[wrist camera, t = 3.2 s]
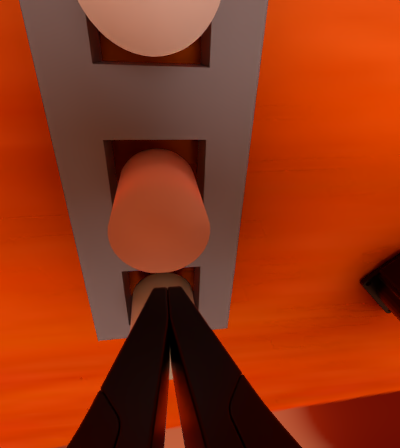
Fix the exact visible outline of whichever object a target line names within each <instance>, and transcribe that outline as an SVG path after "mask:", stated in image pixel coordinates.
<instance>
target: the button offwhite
mask: <svg viewBox="0 0 400 448" xmlns="http://www.w3.org/2000/svg"><path fill="white" fill-rule="evenodd" d="M220 1H221V0H78V2H79V4H80V6H81V7H82V9H83V11H84V12H85V14H86V15H87V17H88V18H89V20H90V21H91V22H92V23H93V24H94V26H95V27H96V28H97V29H98V30H99V31H100V32H101V33H102V34H103V35H104V36H105V37H106V38H108V39H109V40H110V41H112V42H113V43H114V44H116V45H118V46H119V47H121V48H123V49H125V50H127V51H130V52H132V53H135V54H139V55H143V56H151V57H155V56H165V55H170V54H173V53H176V52H179V51H181V50H183V49H185V48H186V47H188V46H189V45H191V44H192V43H193V42H195V41H196V40H197V39H198V38H199V37H200V36H201V35H202V34H203V33H204V31H205V30H206V29H207V27H208V26H209V24H210V23H211V21H212V19H213V18H214V16H215V14H216V11H217V9H218V7H219V4H220Z"/></svg>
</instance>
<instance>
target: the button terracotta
mask: <svg viewBox="0 0 400 448" xmlns="http://www.w3.org/2000/svg"><path fill="white" fill-rule="evenodd" d="M209 236H210V223H209V219H208V216H207V213H206V210H205V207H204V204H203V201H202V198H201V195H200V192H199V189H198V186H197V183H196V180H195V177H194V174H193V171H192V169H191V167H190V165H189V164H188V163H187V161H186V160H185V159H184V158H182V157H181V156H180V155H178V154H177V153H175V152H172V151H170V150H166V149H159V148H154V149H147V150H144V151H141V152H139V153H137V154H135V155H134V156H132V157H131V158H130V159H129V160H128V161H127V162H126V164H125V165H124V167H123V169H122V171H121V174H120V178H119V182H118V187H117V191H116V195H115V199H114V203H113V207H112V211H111V215H110V220H109V224H108V239H109V243H110V245H111V248H112V249H113V251H114V253H115V254H116V255H117V256H118V257H119V258H120V259H121V260H122V261H123V262H124V263H126V264H127V265H129V266H131V267H132V268H135V269H137V270H140V271H144V272H149V273H167V272H172V271H176V270H179V269H181V268H183V267H186V266H187V265H189V264H191V263H192V262H193V261H195V260H196V259H197V258H198V257H199V256H200V255H201V253H202V252H203V251H204V249H205V248H206V245H207V243H208V240H209Z"/></svg>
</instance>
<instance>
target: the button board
mask: <svg viewBox="0 0 400 448" xmlns="http://www.w3.org/2000/svg"><path fill="white" fill-rule="evenodd" d="M19 2H20V6H21V11H22V15H23V19H24V23H25V28H26V32H27V36H28V41H29V45H30V49H31V54H32V58H33V62H34V67H35V71H36V75H37V79H38V84H39V88H40V92H41V97H42V101H43V105H44V110H45V114H46V118H47V122H48V127H49V131H50V135H51V140H52V144H53V148H54V153H55V157H56V161H57V165H58V170H59V174H60V178H61V183H62V187H63V191H64V196H65V200H66V204H67V208H68V213H69V217H70V221H71V226H72V230H73V234H74V239H75V243H76V247H77V252H78V256H79V260H80V264H81V269H82V273H83V277H84V282H85V286H86V290H87V295H88V299H89V303H90V307H91V312H92V316H93V320H94V325H95V329H96V333H97V338H98V341H100V340H111V339H121V338H127V337H128V335H129V333H130V326H131V312H132V299H133V296H131V289H130V281H129V273H128V271H138V270H137V269H135V268H132V267H131V266H129V265H127V264H126V263H124V262H123V261H122V260H121V259H120V258H119V257H118V256H117V255H116V254H115V253H114V251H113V249H112V248H111V245H110V243H109V239H108V224H109V220H110V215H111V211H112V207H113V203H114V199H115V195H116V191H117V187H118V184H117V176H116V168H115V160H114V152H113V144H112V140H198V158H197V186H198V189H199V192H200V195H201V198H202V201H203V204H204V207H205V210H206V213H207V216H208V219H209V223H210V236H209V240H208V243H207V245H206V248H205V249H204V251H203V252H202V253H201V255H200V256H199V257H198V258H197V259H196V260H195V261H193V262H192V263H191V264H189V265H187V266H186V267H194V290H193V291H192V293H193V299H194V305H195V306H196V308H197V309H198V311H199V312H200V314H201V315H202V316H203V318H204V319H205V321H206V322H207V324H208V325H209V326H210V328H211V329H212V330H213V329H223V328H227V326H228V318H229V310H230V302H231V294H232V286H233V278H234V270H235V262H236V254H237V246H238V238H239V230H240V222H241V214H242V206H243V198H244V190H245V182H246V174H247V166H248V158H249V150H250V142H251V134H252V126H253V118H254V110H255V102H256V94H257V86H258V78H259V70H260V62H261V54H262V46H263V38H264V30H265V22H266V14H267V6H268V0H221V1H220V4H219V7H218V9H217V11H216V14H215V16H214V18H213V19H212V21H211V23H210V24H209V26H208V27H207V29H206V30H205V31H204V33H203V34H202V35H201V59H200V64H179V63H148V62H116V61H102V55H101V47H100V39H99V31H98V29H97V28H96V27H95V26H94V24H93V23H92V22H91V21H90V20H89V18H88V17H87V15H86V14H85V12H84V11H83V9H82V7H81V6H80V4H79V2H78V0H19Z"/></svg>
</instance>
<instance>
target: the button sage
mask: <svg viewBox="0 0 400 448" xmlns="http://www.w3.org/2000/svg"><path fill="white" fill-rule="evenodd" d="M170 286H181V287H182V288H183V289H184V291H185V292H186V294H187V295H188V296H189V298H190V299H191V301H192V302H193V304H194V299H193V293H192V288H191V285H190V284H189V282H188V281H187V280H186V279H185V278H183V277H182V276H180V275H177V274H174V273H156V274H152V275H149V276H147V277H145V278H144V279H142V280H141V281H140V282H139V283H138V284H137V285H136V287H135V288H134V291H133V299H132V312H131V326H130V331H131V329H132V327H133V325H134V323H135V322H136V320H137V318H138V316H139V314H140V312H141V310H142V308H143V306H144V304H145V302H146V301H147V299H148V297H149V295H150V293H151V291H152V289H153V288H155V287H166V288H167V289H168V287H170ZM171 379H173V374H172V368H171V360H170V372H169V380H171Z"/></svg>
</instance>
